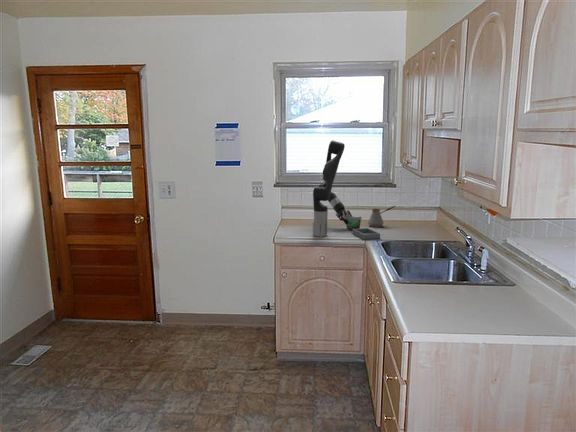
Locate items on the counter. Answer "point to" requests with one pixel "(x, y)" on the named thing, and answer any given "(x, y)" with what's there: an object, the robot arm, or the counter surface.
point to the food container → (353, 222)
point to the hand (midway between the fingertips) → (350, 223)
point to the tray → (366, 233)
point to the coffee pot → (377, 218)
